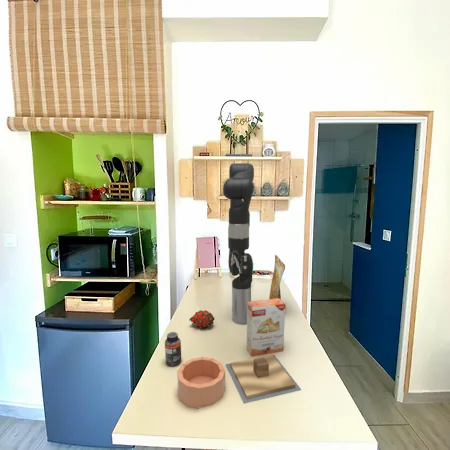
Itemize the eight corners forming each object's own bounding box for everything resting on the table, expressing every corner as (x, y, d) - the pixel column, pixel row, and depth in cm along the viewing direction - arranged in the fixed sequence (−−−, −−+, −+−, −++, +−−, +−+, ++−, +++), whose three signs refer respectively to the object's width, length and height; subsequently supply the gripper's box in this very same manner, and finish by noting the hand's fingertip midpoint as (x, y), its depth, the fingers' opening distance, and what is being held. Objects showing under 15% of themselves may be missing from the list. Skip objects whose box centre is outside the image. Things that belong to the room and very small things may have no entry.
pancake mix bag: (279, 302, 163) (281, 254, 158) (284, 319, 144) (285, 264, 140) (267, 302, 163) (268, 253, 159) (270, 318, 144) (271, 264, 140)
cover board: (230, 366, 107) (230, 351, 106) (272, 357, 112) (272, 344, 111) (246, 399, 91) (246, 382, 90) (295, 387, 96) (295, 371, 95)
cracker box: (251, 358, 112) (251, 307, 109) (246, 350, 118) (246, 301, 115) (284, 352, 116) (285, 303, 113) (277, 344, 122) (278, 297, 118)
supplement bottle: (174, 355, 115) (173, 328, 113) (184, 361, 111) (183, 333, 109) (162, 362, 110) (161, 335, 108) (172, 369, 107) (171, 340, 105)
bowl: (175, 380, 101) (175, 361, 100) (217, 371, 105) (217, 354, 104) (182, 413, 86) (181, 392, 85) (230, 402, 91) (230, 381, 90)
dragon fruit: (216, 331, 136) (191, 333, 137) (216, 314, 142) (192, 317, 143) (212, 322, 130) (186, 325, 131) (212, 305, 136) (187, 308, 137)
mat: (225, 365, 108) (225, 364, 108) (274, 356, 114) (274, 354, 114) (243, 405, 89) (243, 403, 89) (301, 391, 95) (301, 389, 95)
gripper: (222, 232, 110) (223, 274, 112) (235, 240, 96) (235, 287, 99) (241, 231, 112) (241, 272, 115) (256, 238, 99) (255, 284, 101)
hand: (238, 279), depth 107 cm, fingers open, 8 cm apart
